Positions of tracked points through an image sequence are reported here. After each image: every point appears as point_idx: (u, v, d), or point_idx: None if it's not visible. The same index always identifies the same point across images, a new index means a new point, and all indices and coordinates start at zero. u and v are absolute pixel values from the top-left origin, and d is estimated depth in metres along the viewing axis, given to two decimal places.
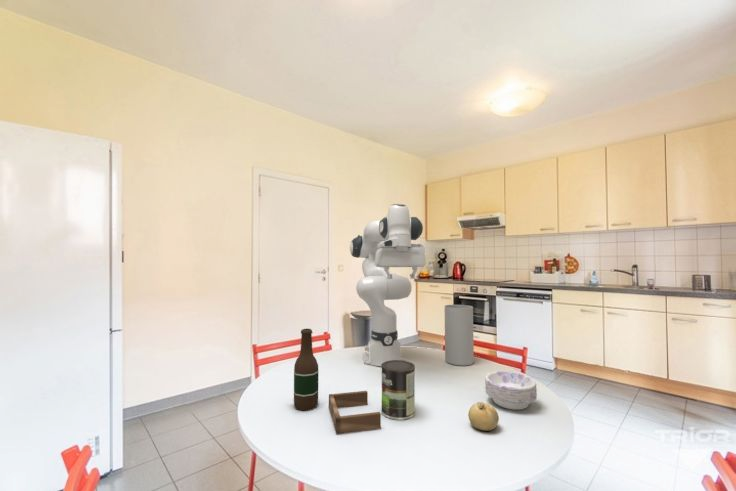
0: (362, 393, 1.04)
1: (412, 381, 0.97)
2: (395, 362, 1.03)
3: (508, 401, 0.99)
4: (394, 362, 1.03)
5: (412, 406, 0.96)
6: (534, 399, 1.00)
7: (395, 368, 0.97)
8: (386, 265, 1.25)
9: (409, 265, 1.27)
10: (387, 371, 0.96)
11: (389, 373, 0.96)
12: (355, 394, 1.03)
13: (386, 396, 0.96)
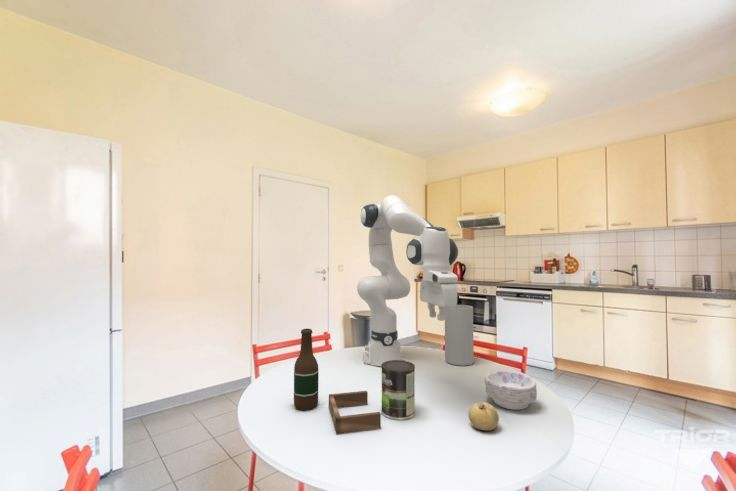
0: (362, 393, 1.04)
1: (412, 381, 0.97)
2: (395, 362, 1.03)
3: (508, 401, 0.99)
4: (394, 362, 1.03)
5: (412, 406, 0.96)
6: (534, 399, 1.00)
7: (395, 368, 0.97)
8: None
9: None
10: (386, 371, 0.96)
11: (389, 373, 0.96)
12: (355, 394, 1.03)
13: (386, 396, 0.96)
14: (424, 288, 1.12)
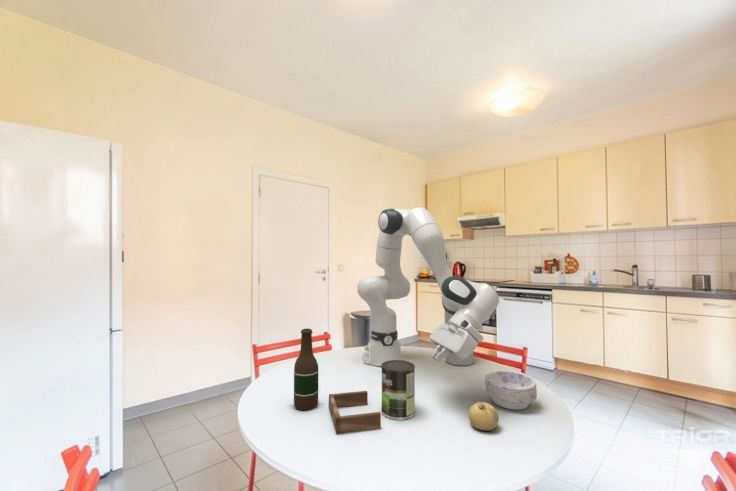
0: (362, 393, 1.04)
1: (412, 381, 0.97)
2: (395, 362, 1.03)
3: (508, 401, 0.99)
4: (394, 362, 1.03)
5: (412, 406, 0.96)
6: (534, 399, 1.00)
7: (395, 368, 0.97)
8: None
9: None
10: (387, 371, 0.96)
11: (389, 373, 0.96)
12: (355, 394, 1.03)
13: (386, 396, 0.96)
14: (442, 330, 1.10)
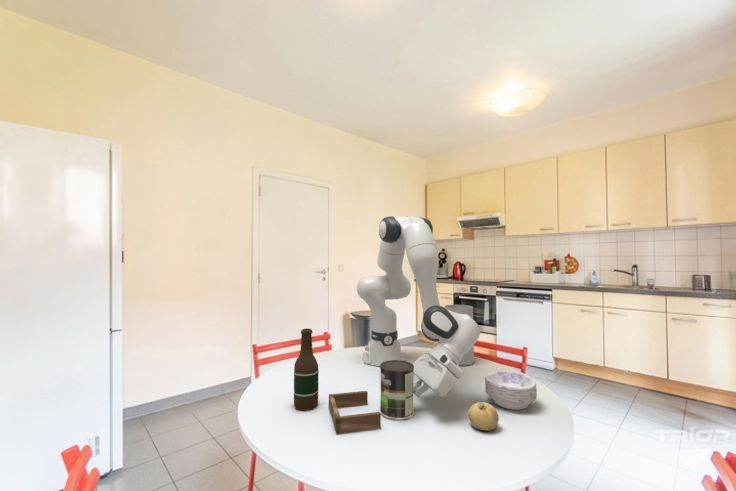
0: (362, 393, 1.04)
1: (411, 381, 0.97)
2: (394, 362, 1.03)
3: (508, 401, 0.99)
4: (393, 362, 1.03)
5: (411, 406, 0.96)
6: (534, 399, 1.00)
7: (394, 368, 0.97)
8: None
9: None
10: (385, 371, 0.96)
11: (388, 373, 0.96)
12: (355, 394, 1.03)
13: (385, 396, 0.96)
14: (423, 361, 1.08)
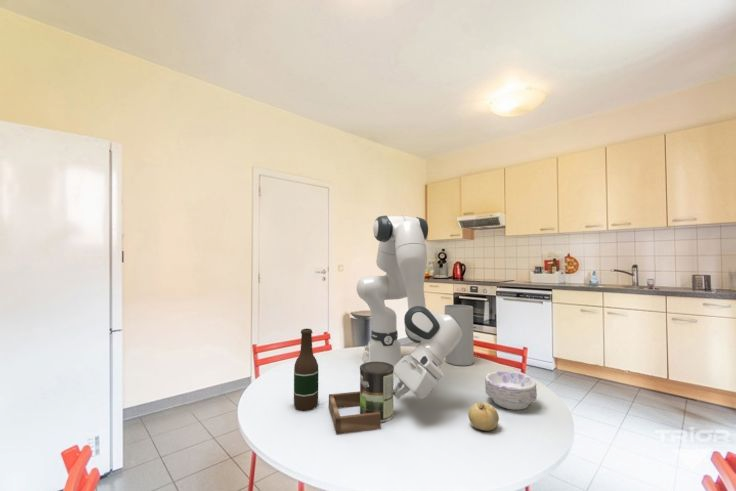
0: None
1: (390, 383, 0.95)
2: (375, 363, 1.01)
3: (508, 401, 0.99)
4: (374, 363, 1.01)
5: (390, 409, 0.95)
6: (534, 399, 1.00)
7: (373, 370, 0.96)
8: None
9: None
10: (364, 372, 0.95)
11: (366, 374, 0.94)
12: (355, 394, 1.03)
13: (363, 397, 0.95)
14: (405, 363, 1.06)
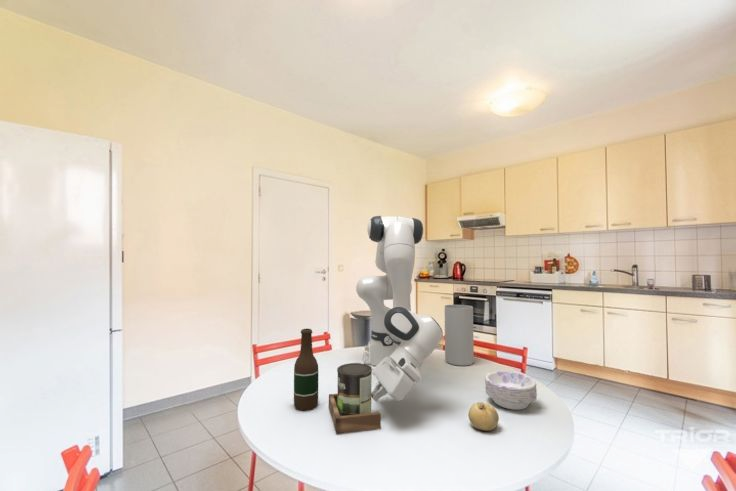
0: None
1: (367, 385, 0.93)
2: (354, 365, 1.00)
3: (508, 401, 0.99)
4: (353, 365, 1.00)
5: (367, 411, 0.93)
6: (534, 399, 1.00)
7: (350, 371, 0.94)
8: None
9: None
10: (340, 374, 0.93)
11: (343, 376, 0.93)
12: None
13: (340, 400, 0.93)
14: (385, 364, 1.05)
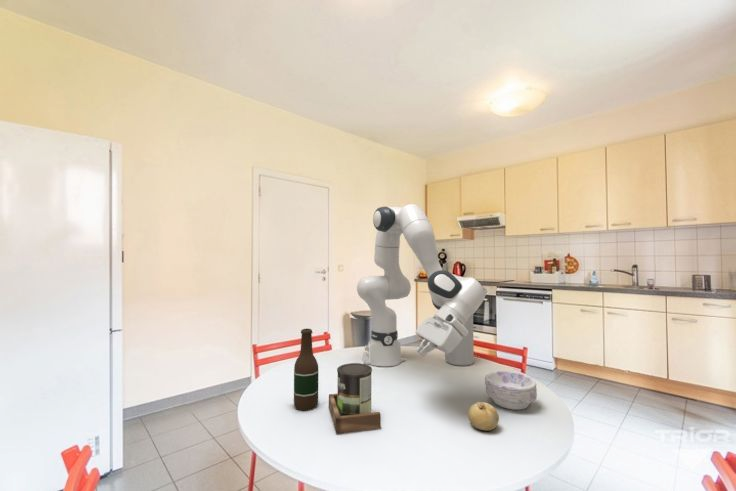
0: None
1: (367, 385, 0.93)
2: (354, 365, 1.00)
3: (508, 401, 0.99)
4: (353, 365, 1.00)
5: (367, 411, 0.93)
6: (534, 399, 1.00)
7: (350, 371, 0.94)
8: None
9: None
10: (340, 374, 0.93)
11: (343, 376, 0.93)
12: None
13: (340, 400, 0.93)
14: (428, 324, 1.09)
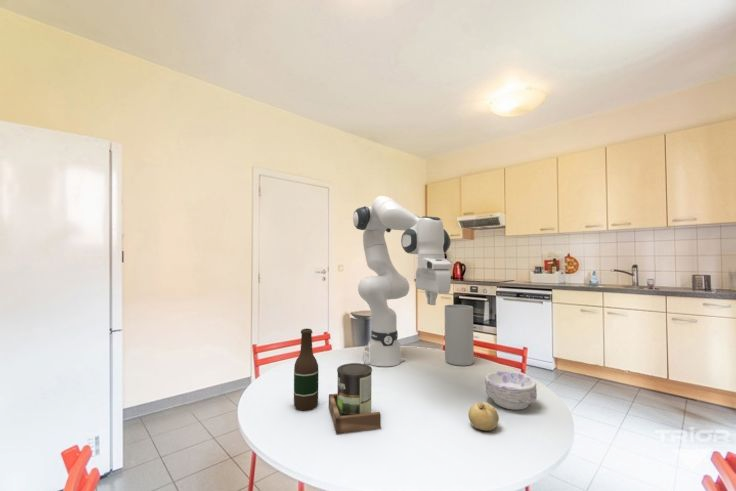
0: None
1: (367, 385, 0.93)
2: (354, 365, 1.00)
3: (508, 401, 0.99)
4: (353, 365, 1.00)
5: (367, 411, 0.93)
6: (534, 399, 1.00)
7: (350, 371, 0.94)
8: None
9: None
10: (340, 374, 0.93)
11: (343, 376, 0.93)
12: None
13: (340, 400, 0.93)
14: (420, 275, 1.16)
